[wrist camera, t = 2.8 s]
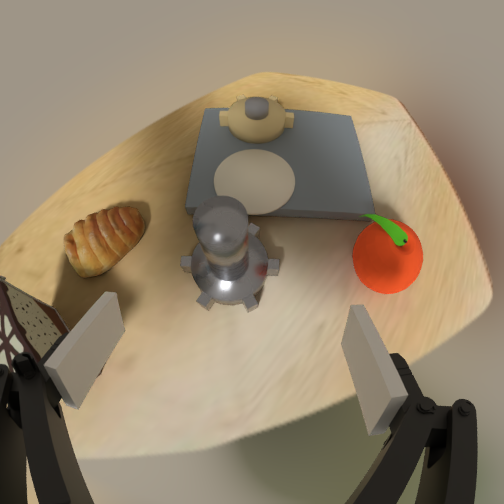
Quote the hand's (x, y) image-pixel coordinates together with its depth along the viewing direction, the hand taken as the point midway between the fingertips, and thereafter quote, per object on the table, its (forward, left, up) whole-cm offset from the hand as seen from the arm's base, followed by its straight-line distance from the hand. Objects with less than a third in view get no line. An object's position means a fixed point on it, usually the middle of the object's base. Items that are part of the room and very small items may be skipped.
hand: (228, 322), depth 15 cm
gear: (-1, +7, -11) cm, 13 cm away
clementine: (+13, +7, -11) cm, 19 cm away
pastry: (-16, +9, -11) cm, 21 cm away
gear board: (+4, +21, -11) cm, 24 cm away
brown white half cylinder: (-19, -4, -11) cm, 22 cm away
